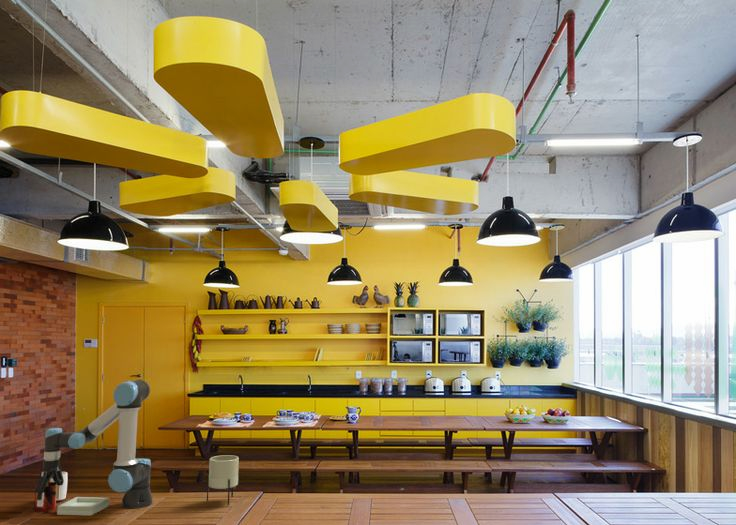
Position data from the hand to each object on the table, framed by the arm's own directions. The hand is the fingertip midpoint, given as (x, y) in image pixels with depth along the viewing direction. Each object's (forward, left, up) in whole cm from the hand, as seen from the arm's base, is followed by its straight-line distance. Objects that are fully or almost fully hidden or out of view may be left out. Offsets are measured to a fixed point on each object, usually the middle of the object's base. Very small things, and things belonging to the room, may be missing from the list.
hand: (48, 502), depth 287 cm
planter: (-85, -19, -4) cm, 87 cm away
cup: (+4, -14, -4) cm, 15 cm away
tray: (-19, 0, -3) cm, 19 cm away
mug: (0, 0, -4) cm, 4 cm away
